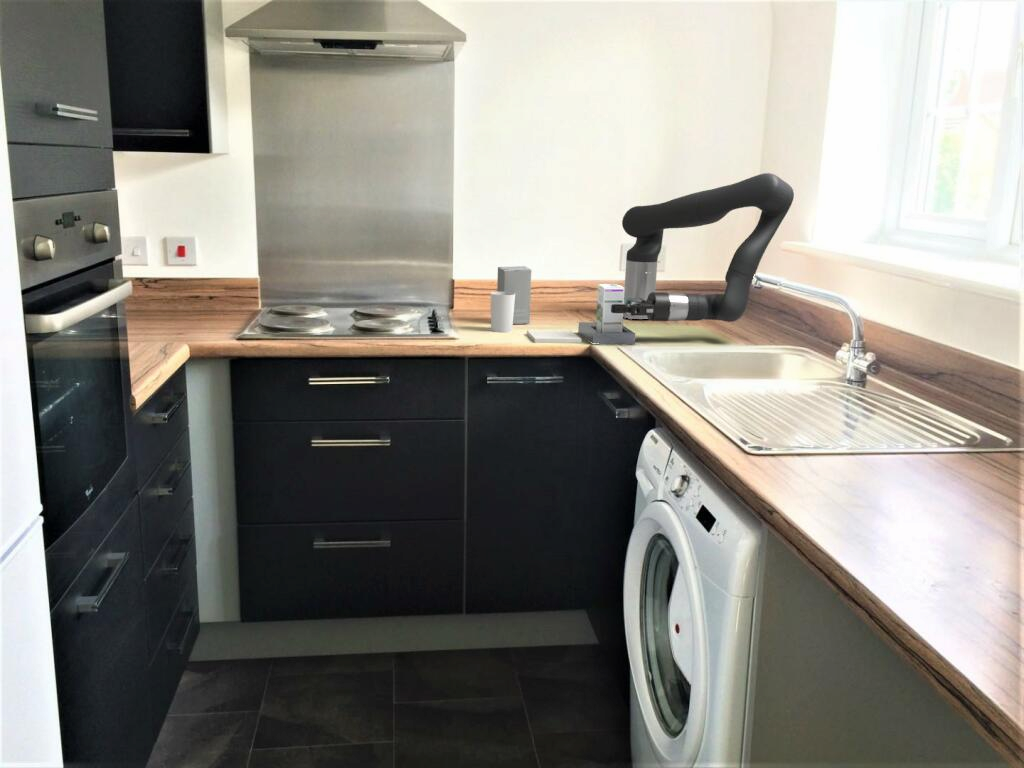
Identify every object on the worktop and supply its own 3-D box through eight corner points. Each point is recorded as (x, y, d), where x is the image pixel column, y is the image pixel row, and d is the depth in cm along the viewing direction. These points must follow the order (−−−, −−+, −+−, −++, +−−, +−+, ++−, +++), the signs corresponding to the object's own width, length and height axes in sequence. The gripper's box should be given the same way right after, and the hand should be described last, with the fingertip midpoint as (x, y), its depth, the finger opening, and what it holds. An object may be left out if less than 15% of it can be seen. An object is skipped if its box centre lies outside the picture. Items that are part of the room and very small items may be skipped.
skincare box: (522, 320, 269) (525, 265, 265) (530, 324, 262) (533, 268, 259) (494, 321, 266) (496, 265, 263) (502, 325, 260) (504, 268, 256)
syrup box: (622, 342, 241) (626, 286, 238) (600, 342, 240) (603, 286, 237) (615, 338, 247) (619, 283, 243) (594, 338, 246) (597, 283, 242)
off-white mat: (526, 333, 248) (526, 330, 248) (570, 334, 250) (571, 330, 250) (535, 342, 237) (535, 338, 237) (581, 342, 239) (581, 339, 239)
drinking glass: (498, 327, 257) (500, 291, 254) (518, 330, 253) (520, 293, 251) (484, 330, 251) (485, 293, 249) (504, 333, 248) (505, 295, 245)
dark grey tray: (578, 333, 253) (579, 318, 252) (617, 333, 254) (618, 318, 254) (592, 344, 237) (593, 328, 236) (634, 344, 239) (635, 329, 238)
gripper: (659, 288, 250) (600, 287, 247) (677, 296, 236) (615, 295, 233) (657, 316, 252) (599, 316, 249) (675, 325, 238) (613, 325, 235)
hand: (607, 306), depth 241 cm, fingers open, 8 cm apart
